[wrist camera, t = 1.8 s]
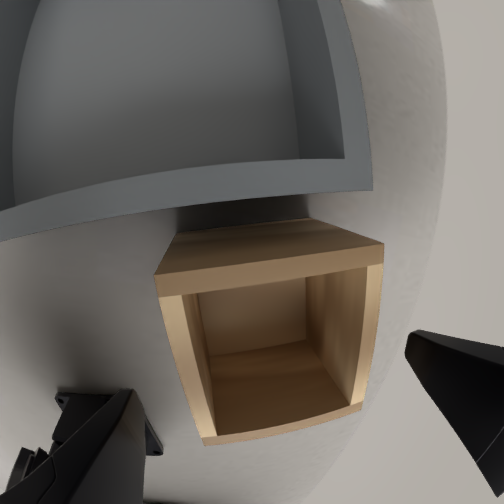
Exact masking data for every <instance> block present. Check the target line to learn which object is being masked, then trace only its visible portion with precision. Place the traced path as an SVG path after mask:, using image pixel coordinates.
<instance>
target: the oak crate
mask: <svg viewBox="0 0 504 504" xmlns="http://www.w3.org/2000/svg"><path fill="white" fill-rule="evenodd" d="M383 262H384V243H381V242H378V241H376V240H373V239H370V238H367V237H365V236H362V235H359V234H356V233H353V232H351V231H348V230H345V229H342V228H339V227H336V226H333V225H330V224H327V223H324V222H321V221H318V220H315V219H312V218H303V219H293V220H283V221H274V222H265V223H256V224H247V225H238V226H230V227H222V228H214V229H206V230H198V231H190V232H182V233H176V235H175V237H174V239H173V240H172V242H171V244H170V246H169V248H168V249H167V251H166V253H165V255H164V257H163V259H162V261H161V262H160V264H159V266H158V268H157V270H156V272H155V274H154V279H155V284H156V289H157V294H158V298H159V302H160V307H161V311H162V315H163V319H164V323H165V327H166V331H167V335H168V339H169V342H170V346H171V350H172V353H173V357H174V360H175V364H176V367H177V370H178V373H179V377H180V380H181V383H182V386H183V389H184V392H185V395H186V398H187V401H188V404H189V407H190V410H191V412H192V415H193V418H194V421H195V423H196V426H197V429H198V431H199V434H200V436H201V439H202V441H203V444H204V446H208V445H218V444H226V443H234V442H241V441H247V440H253V439H259V438H264V437H269V436H274V435H278V434H283V433H287V432H291V431H296V430H299V429H303V428H307V427H311V426H314V425H318V424H321V423H324V422H328V421H331V420H334V419H337V418H340V417H343V416H346V415H349V414H351V413H354V412H357V411H359V410H361V408H362V404H363V400H364V395H365V391H366V387H367V382H368V378H369V373H370V368H371V362H372V357H373V351H374V345H375V339H376V332H377V325H378V318H379V309H380V300H381V290H382V278H383Z"/></svg>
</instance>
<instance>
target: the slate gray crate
mask: <svg viewBox="0 0 504 504" xmlns="http://www.w3.org/2000/svg"><path fill="white" fill-rule="evenodd" d="M346 191H373V177H372V162H371V150H370V140H369V131H368V123H367V116H366V109H365V102H364V96H363V90H362V84H361V79H360V74H359V69H358V64H357V60H356V55H355V51H354V47H353V43H352V39H351V35H350V31H349V28H348V24H347V21H346V17H345V14H344V11H343V7H342V4H341V1H340V0H0V242H1V241H5V240H9V239H13V238H17V237H21V236H25V235H29V234H33V233H37V232H42V231H46V230H51V229H55V228H60V227H65V226H69V225H74V224H79V223H84V222H89V221H95V220H100V219H105V218H111V217H117V216H122V215H128V214H134V213H140V212H147V211H153V210H160V209H167V208H174V207H181V206H188V205H196V204H204V203H212V202H221V201H230V200H239V199H249V198H260V197H271V196H283V195H296V194H310V193H326V192H346Z"/></svg>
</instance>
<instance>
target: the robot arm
mask: <svg viewBox="0 0 504 504" xmlns="http://www.w3.org/2000/svg"><path fill="white" fill-rule="evenodd" d="M405 358H406V359H407V361H408V363H409V364H410V366H411V367H412V369H413V371H414V373H415V374H416V376H417V378H418V379H419V381H420V382H421V384H422V386H423V387H424V389H425V390H426V392H427V393H428V395H429V396H430V397H431V399H432V400H433V401H434V403H435V404H436V405H437V407H438V408H439V410H440V411H441V412H442V414H443V415H444V416H445V418H446V419H447V420H448V422H449V424H450V425H451V427H452V428H453V429H454V431H455V432H456V434H457V435H458V437H459V438H460V440H461V441H462V443H463V444H464V446H465V447H466V449H467V450H468V452H469V453H470V455H471V456H472V458H473V459H474V461H475V462H476V464H477V466H478V467H479V469H480V471H481V472H482V474H483V476H484V477H485V479H486V481H487V482H488V484H489V486H490V487H491V489H492V490H493V492H494V494H495V496H496V497H499V496H500V495H501V494H502V493H504V347H500V346H496V345H490V344H485V343H480V342H475V341H470V340H465V339H460V338H455V337H451V336H446V335H441V334H437V333H433V332H428V331H424V330H416V331H413V332H411V333H410V334H409V335H408V339H407V344H406V348H405ZM55 400H56V402H57V403H58V405H59V407H60V408H61V410H62V411H63V412H62V414H61V417H60V419H59V421H58V423H57V426H56V428H55V430H54V433H53V435H52V439H53V444H52V446H51V449H50V452H49V454H47V452H46V451H44V450H43V449H41V448H40V447H38V449H37V450H36V451H35V452H34V451H32V450H29V449H26V448H23V447H22V448H21V450H20V453H19V455H18V457H17V459H16V462H15V464H14V467H13V469H12V472H11V475H10V478H9V481H8V484H7V487H6V490H5V492H4V493H3V494H1V495H0V504H146V503H143V485H144V469H145V459H146V455H147V456H160V455H163V447H162V446H161V444H160V442H159V440H158V439H157V437H156V435H155V433H154V431H153V430H152V428H151V426H150V424H149V422H148V420H147V418H146V416H145V414H144V409H143V406H142V404H141V402H140V400H139V398H138V395H137V393H136V391H135V390H134V389H121V390H120V391H118V392H117V393H116V394H115V395H88V394H73V393H62V392H58V393H57V394H56V396H55Z"/></svg>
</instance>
